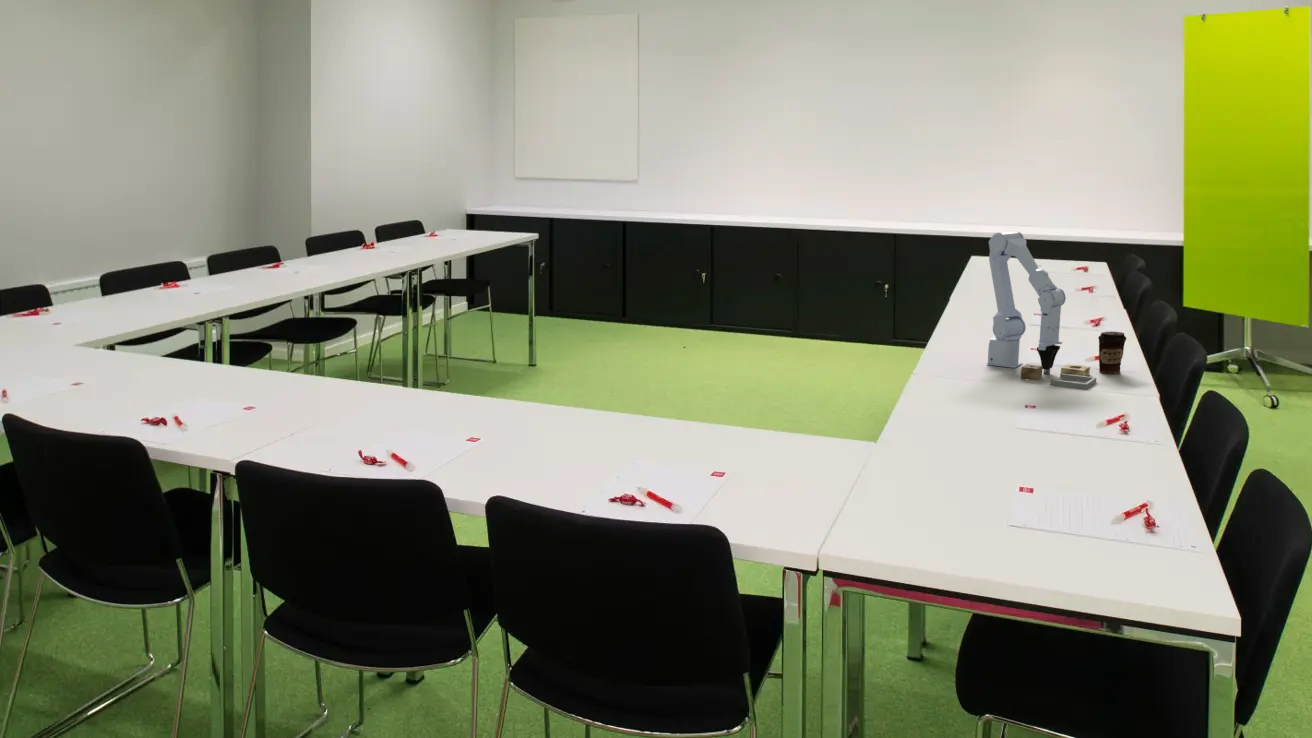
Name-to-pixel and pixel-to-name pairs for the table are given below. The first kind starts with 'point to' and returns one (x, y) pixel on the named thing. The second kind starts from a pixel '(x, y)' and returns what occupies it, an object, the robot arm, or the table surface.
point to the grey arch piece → (1088, 380)
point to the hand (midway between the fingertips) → (1047, 368)
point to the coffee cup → (1111, 351)
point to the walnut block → (1031, 372)
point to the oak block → (1075, 370)
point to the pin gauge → (1047, 371)
